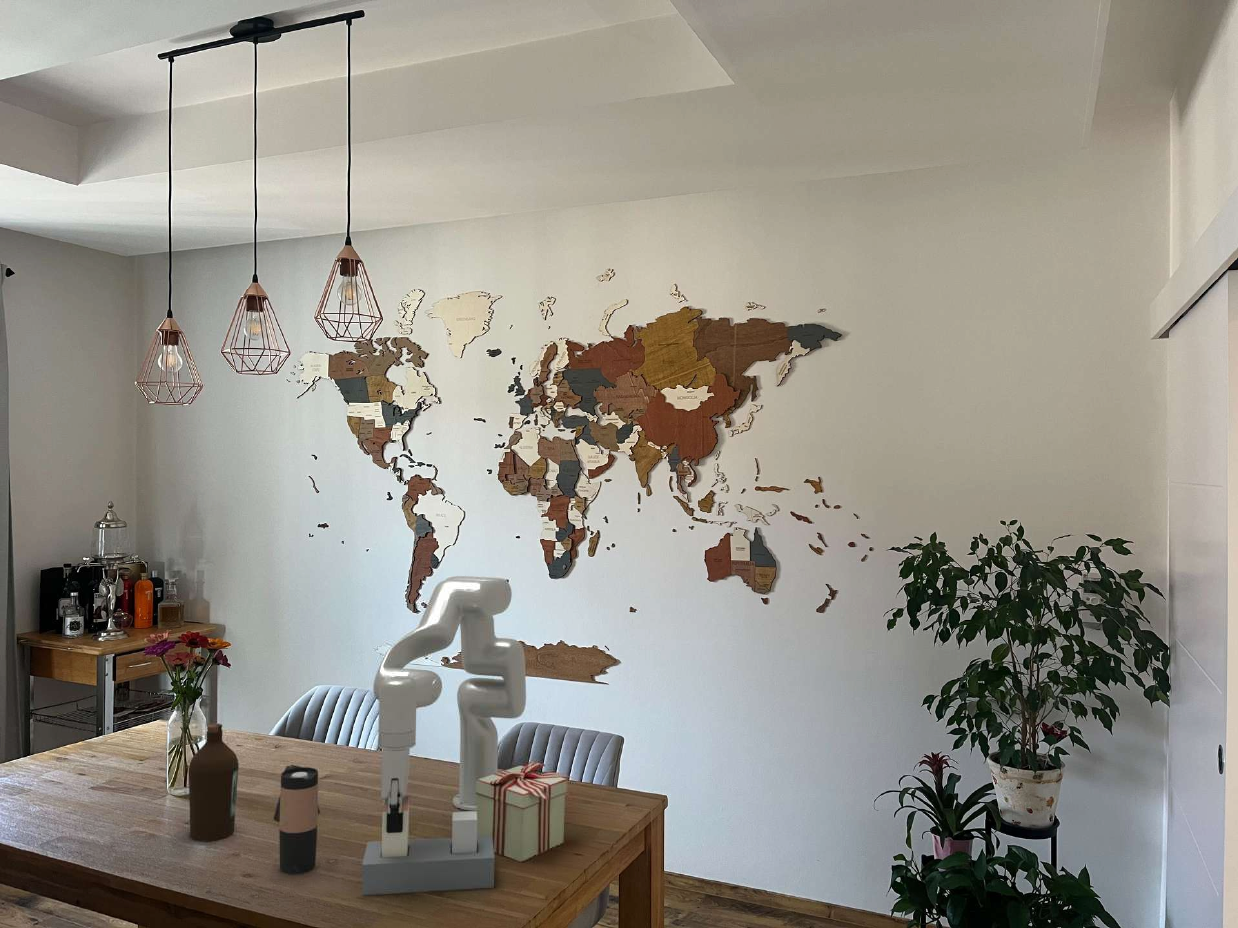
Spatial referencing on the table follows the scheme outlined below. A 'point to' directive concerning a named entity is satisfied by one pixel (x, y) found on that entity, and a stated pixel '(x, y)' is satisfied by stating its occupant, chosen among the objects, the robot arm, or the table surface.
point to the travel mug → (298, 820)
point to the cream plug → (395, 841)
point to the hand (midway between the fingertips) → (395, 825)
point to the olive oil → (213, 788)
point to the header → (433, 862)
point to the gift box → (522, 810)
